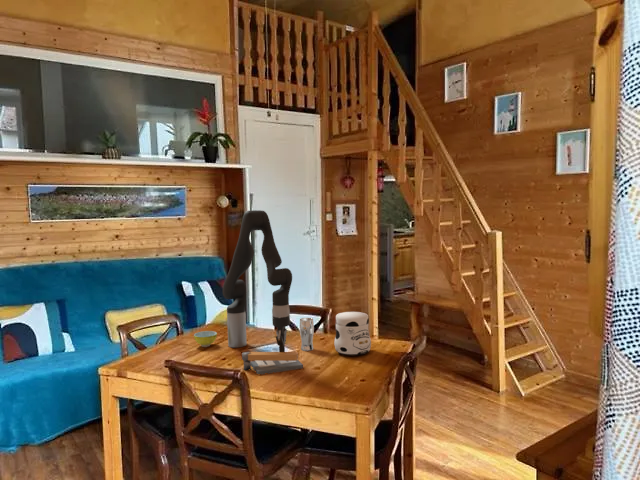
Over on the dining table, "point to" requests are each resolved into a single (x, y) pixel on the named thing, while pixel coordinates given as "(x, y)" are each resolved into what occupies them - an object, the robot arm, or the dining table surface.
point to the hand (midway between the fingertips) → (282, 353)
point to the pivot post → (247, 364)
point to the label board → (275, 366)
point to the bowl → (205, 338)
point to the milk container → (352, 333)
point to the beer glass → (307, 333)
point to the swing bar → (270, 356)
